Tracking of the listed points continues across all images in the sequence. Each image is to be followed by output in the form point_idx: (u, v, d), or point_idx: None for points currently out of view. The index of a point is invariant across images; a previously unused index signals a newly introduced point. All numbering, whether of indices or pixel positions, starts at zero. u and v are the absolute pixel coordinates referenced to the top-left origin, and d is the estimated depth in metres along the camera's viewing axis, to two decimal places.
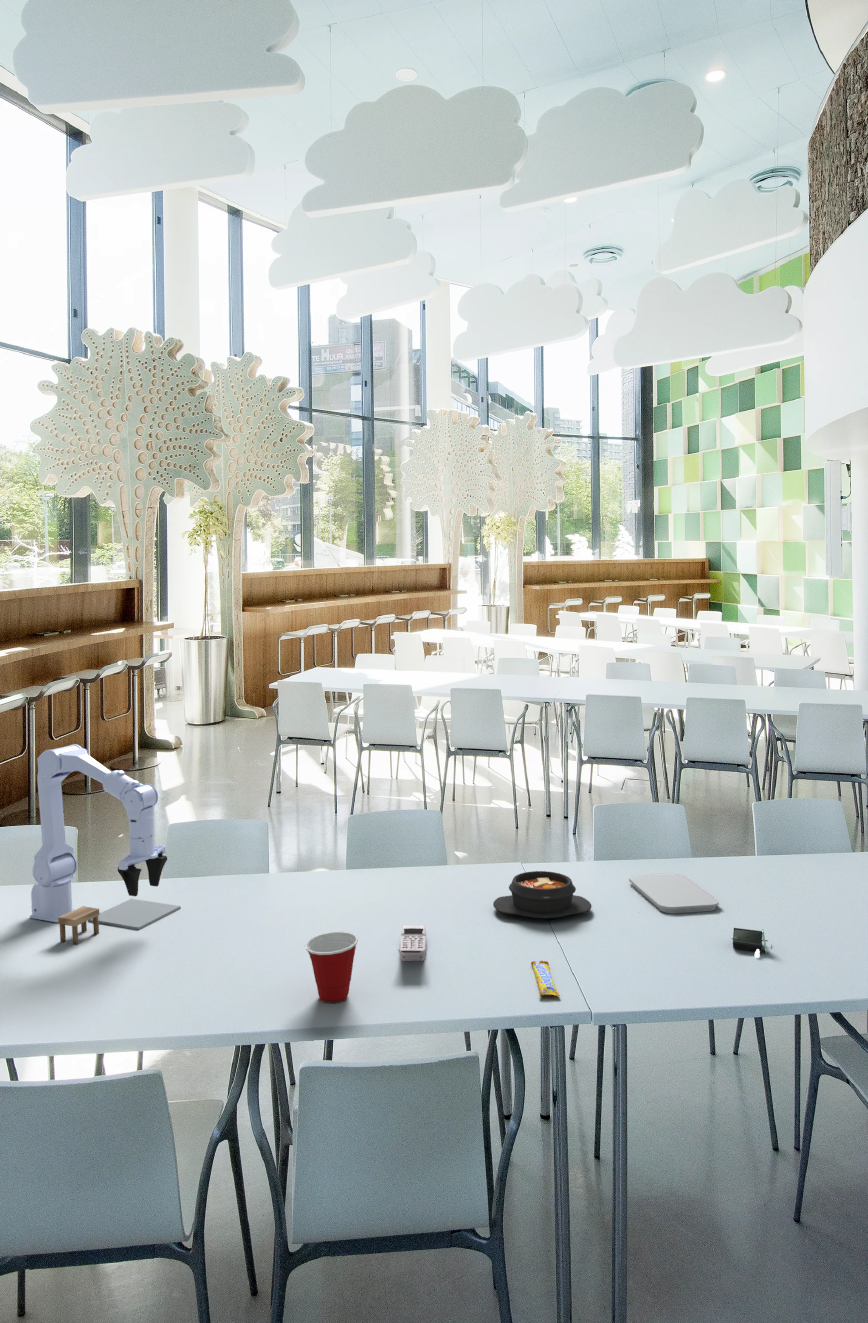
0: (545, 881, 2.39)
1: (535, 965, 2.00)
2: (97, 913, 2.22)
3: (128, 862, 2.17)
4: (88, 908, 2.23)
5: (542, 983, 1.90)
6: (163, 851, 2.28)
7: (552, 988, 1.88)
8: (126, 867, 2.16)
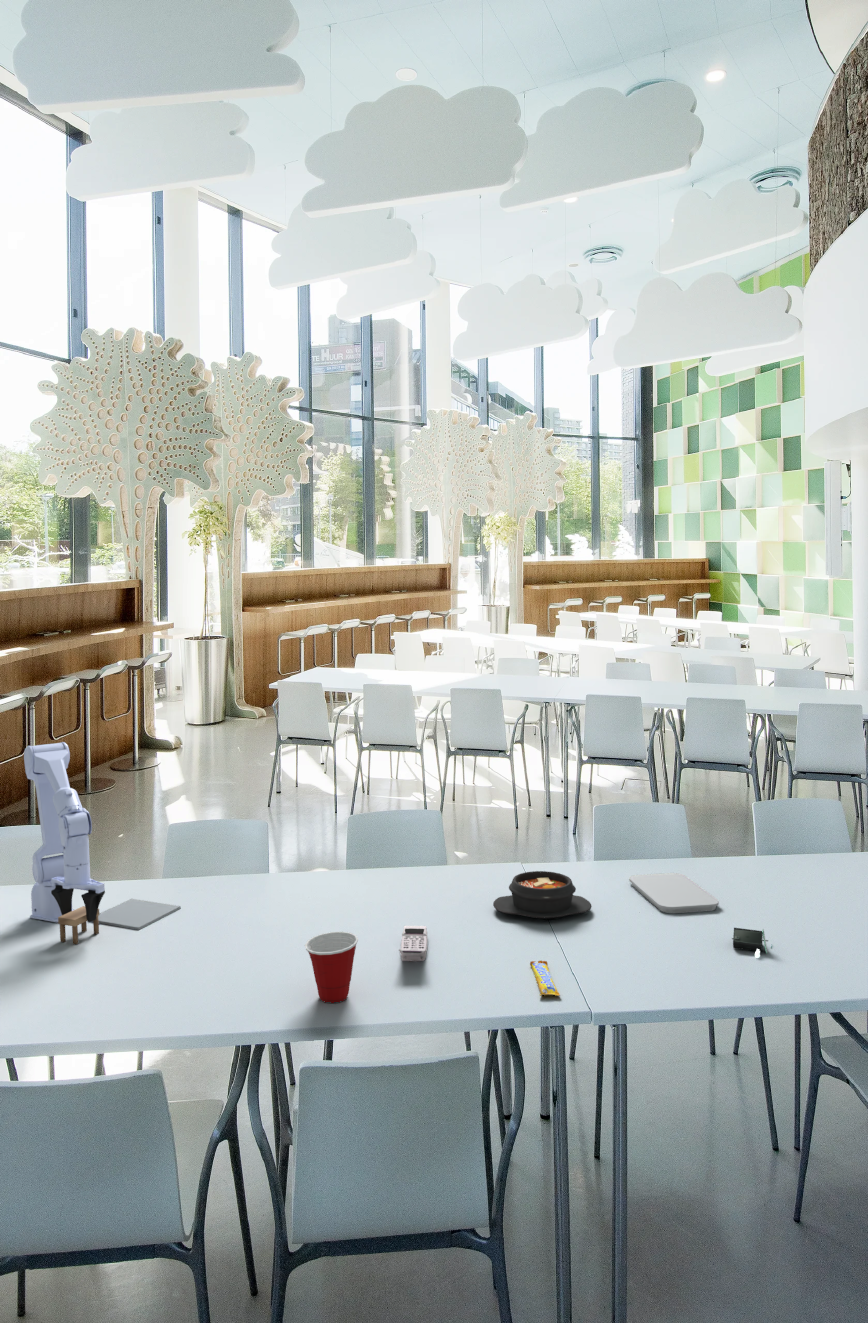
0: (545, 881, 2.39)
1: (534, 965, 2.00)
2: (97, 913, 2.22)
3: (54, 880, 2.21)
4: None
5: (542, 983, 1.90)
6: (96, 890, 2.16)
7: (552, 988, 1.88)
8: (53, 885, 2.21)
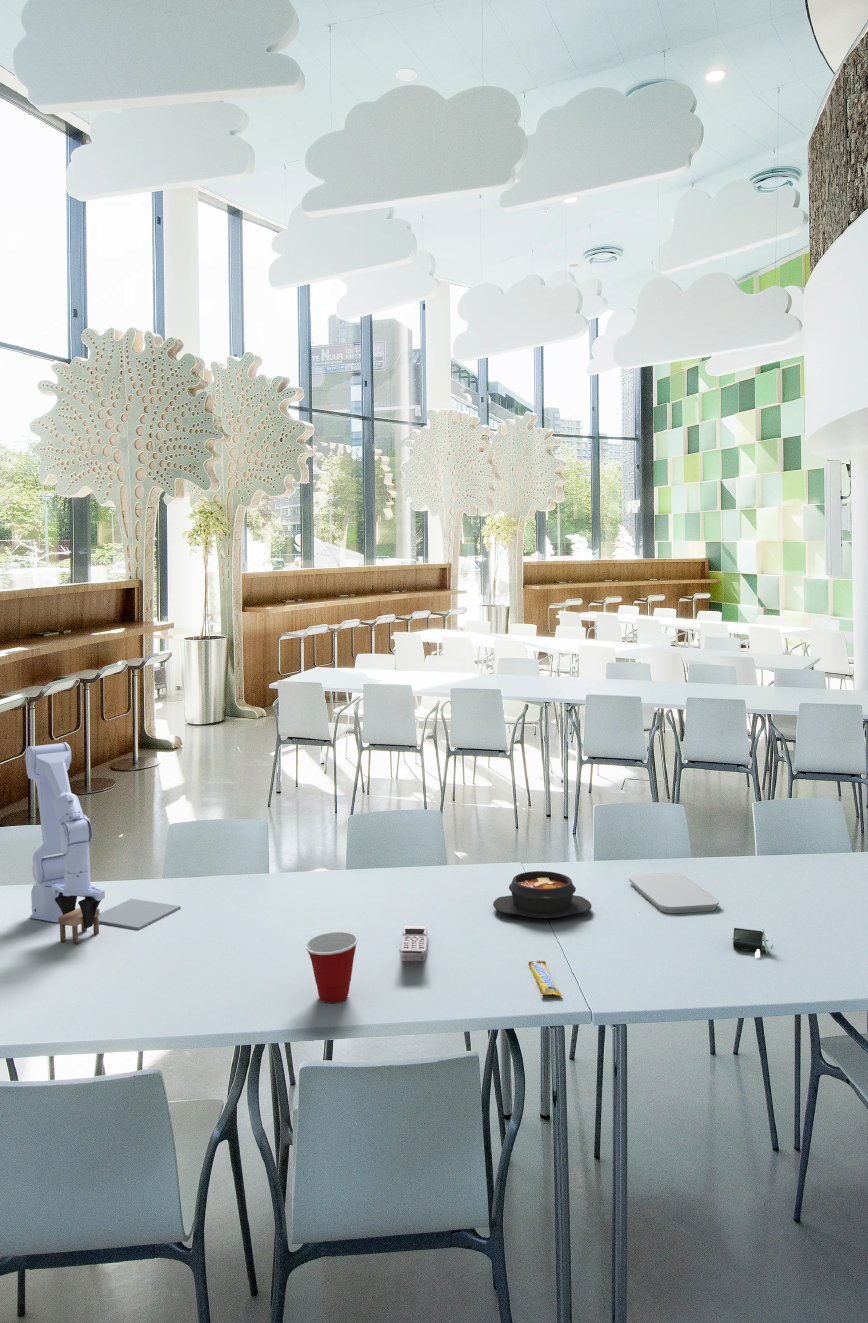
0: (545, 881, 2.39)
1: (533, 965, 2.00)
2: (97, 913, 2.22)
3: (54, 887, 2.21)
4: None
5: (543, 983, 1.90)
6: (96, 897, 2.16)
7: (553, 988, 1.88)
8: (53, 892, 2.21)
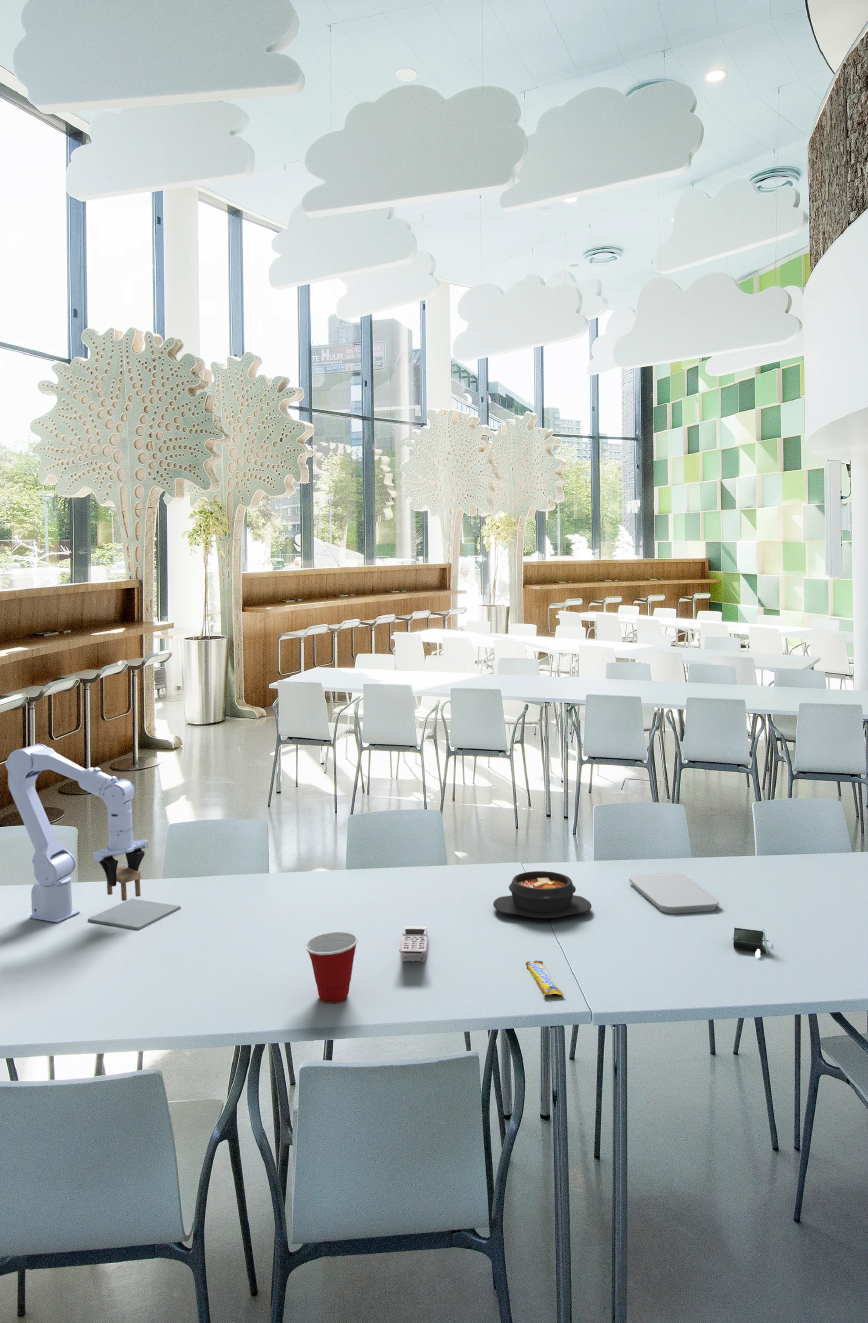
0: (545, 881, 2.39)
1: (531, 965, 2.00)
2: None
3: (101, 854, 2.25)
4: None
5: (544, 983, 1.90)
6: (145, 845, 2.35)
7: (555, 987, 1.89)
8: (99, 859, 2.25)
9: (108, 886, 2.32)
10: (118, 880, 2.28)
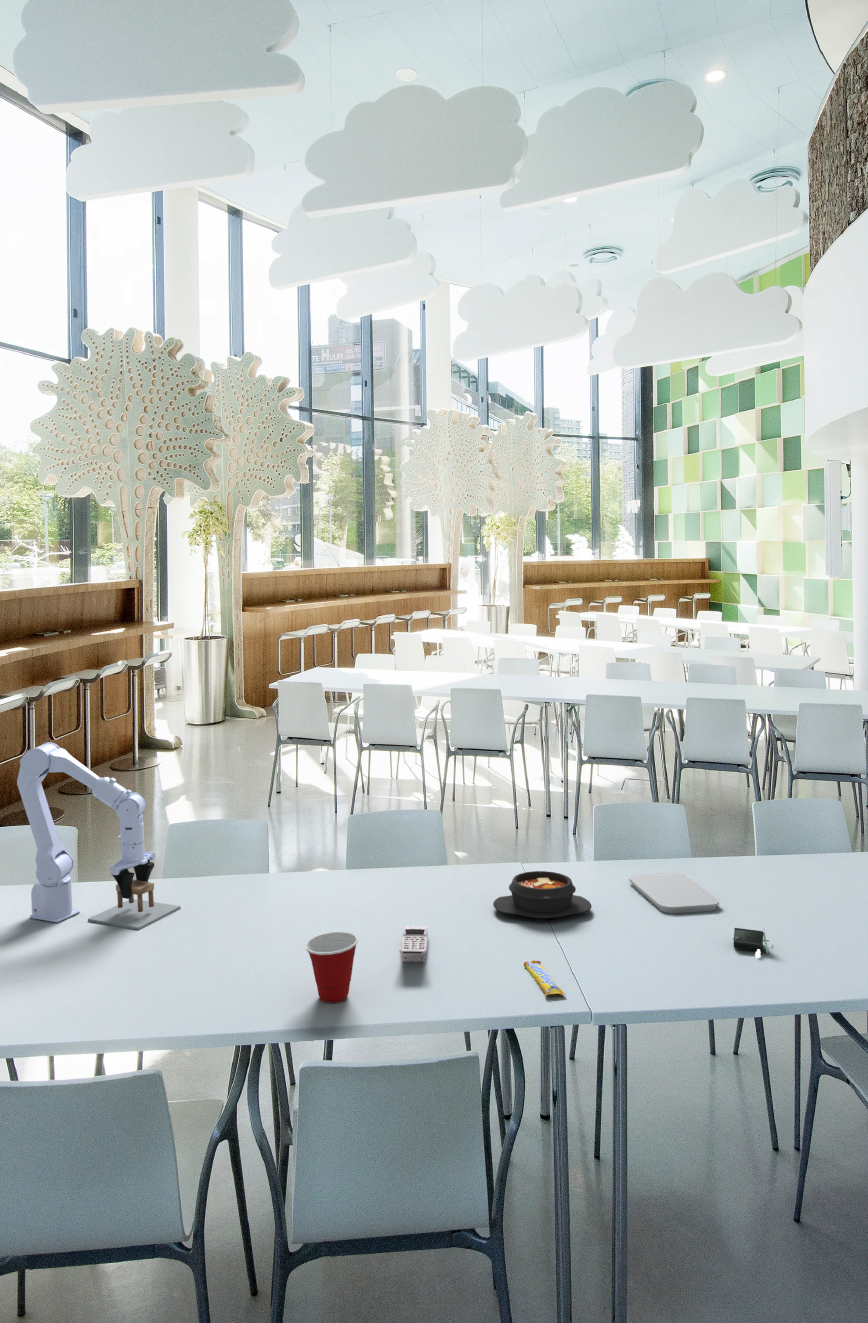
0: (545, 881, 2.39)
1: (529, 965, 2.00)
2: None
3: (119, 867, 2.28)
4: None
5: (544, 983, 1.90)
6: (153, 857, 2.40)
7: (556, 987, 1.89)
8: (118, 873, 2.28)
9: (119, 899, 2.34)
10: (134, 892, 2.32)
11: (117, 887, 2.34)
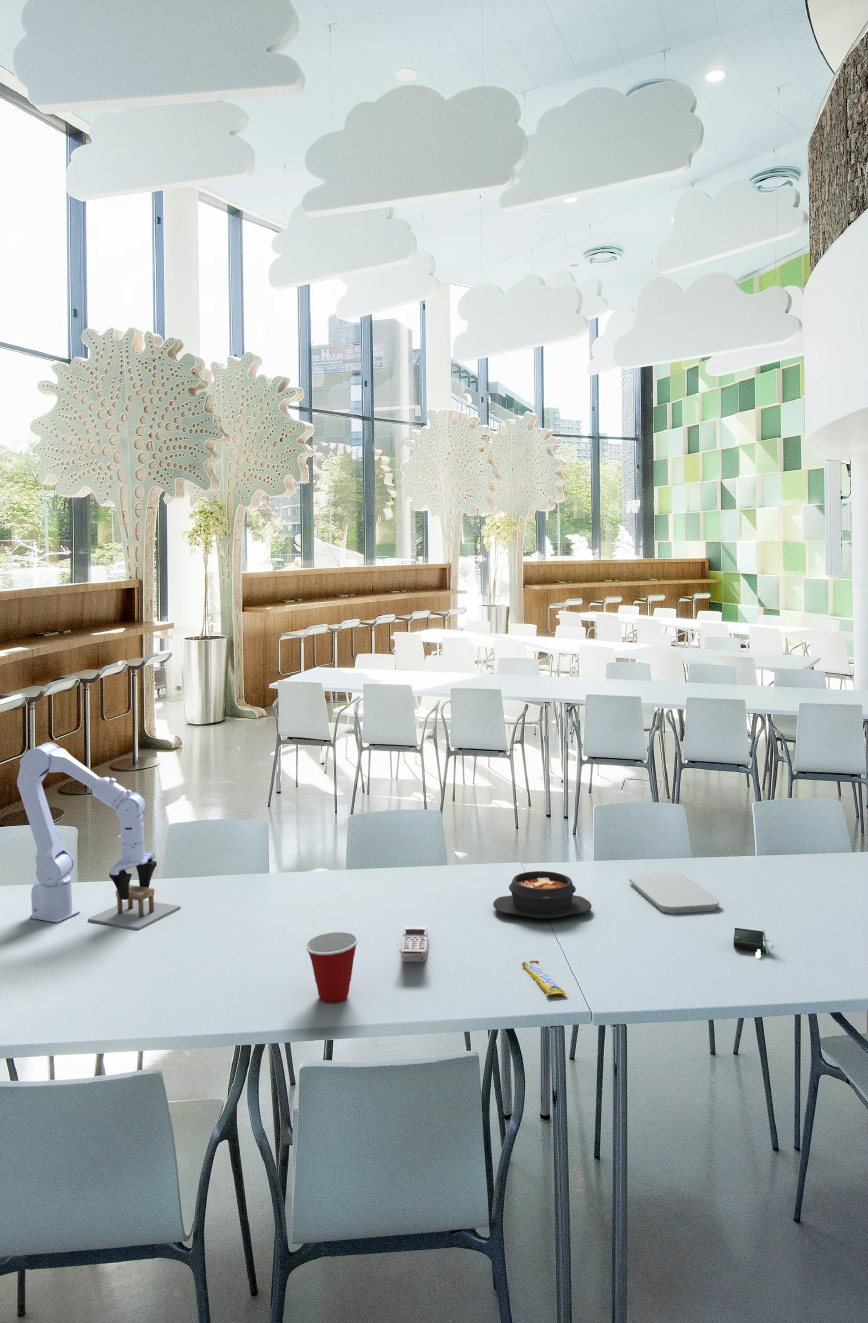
0: (545, 881, 2.39)
1: (528, 965, 2.00)
2: None
3: (119, 867, 2.28)
4: None
5: (545, 983, 1.90)
6: (153, 857, 2.40)
7: (557, 987, 1.89)
8: (118, 873, 2.28)
9: (119, 905, 2.34)
10: (135, 898, 2.32)
11: (117, 893, 2.34)
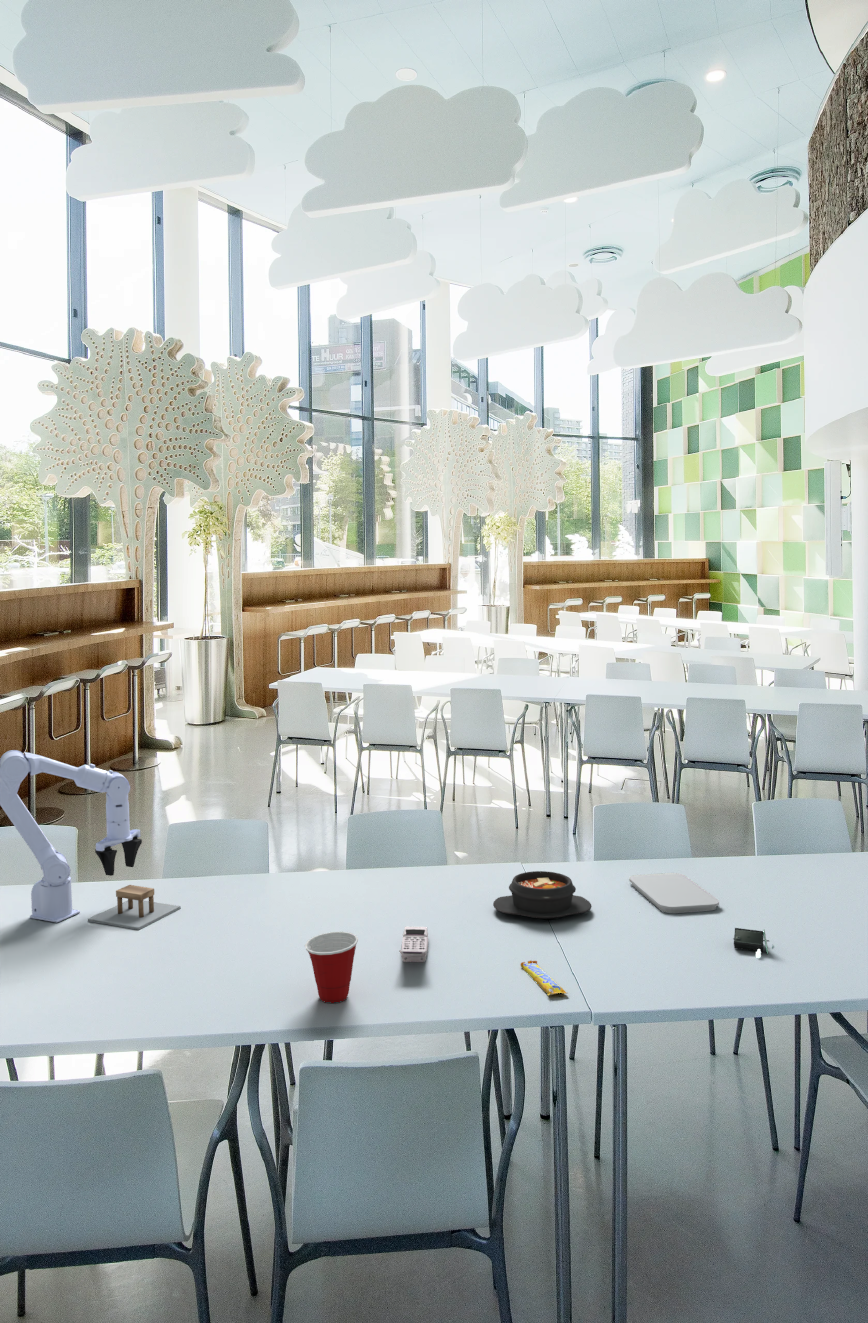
0: (545, 881, 2.39)
1: (526, 966, 2.00)
2: None
3: (105, 844, 2.35)
4: (125, 888, 2.36)
5: (545, 983, 1.90)
6: (138, 834, 2.46)
7: (557, 986, 1.89)
8: (103, 849, 2.34)
9: (119, 905, 2.34)
10: (135, 898, 2.32)
11: (117, 893, 2.34)
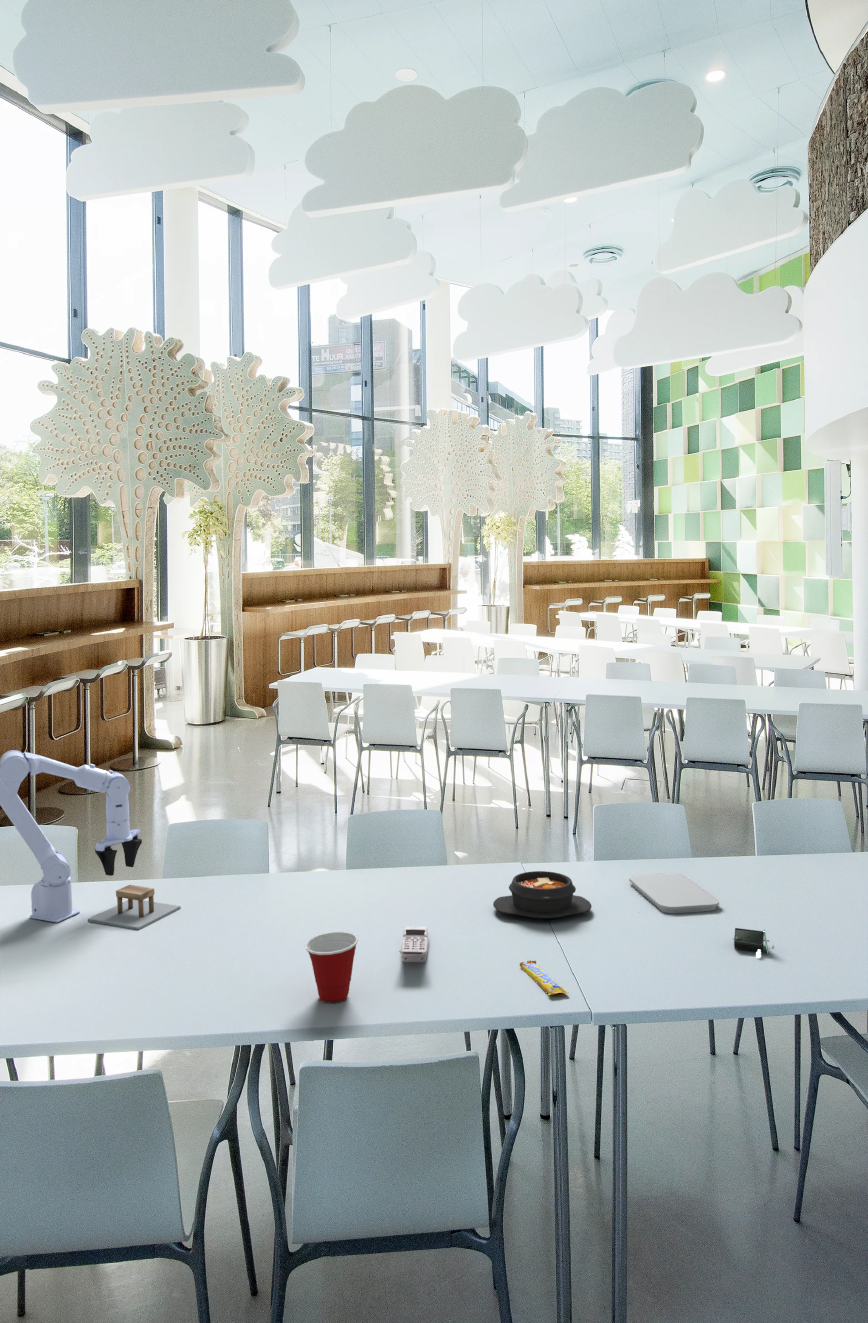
0: (545, 881, 2.39)
1: (526, 966, 2.00)
2: None
3: (105, 844, 2.35)
4: (125, 888, 2.36)
5: (545, 983, 1.90)
6: (138, 834, 2.46)
7: (558, 986, 1.89)
8: (103, 849, 2.34)
9: (119, 905, 2.34)
10: (135, 898, 2.32)
11: (117, 893, 2.34)
